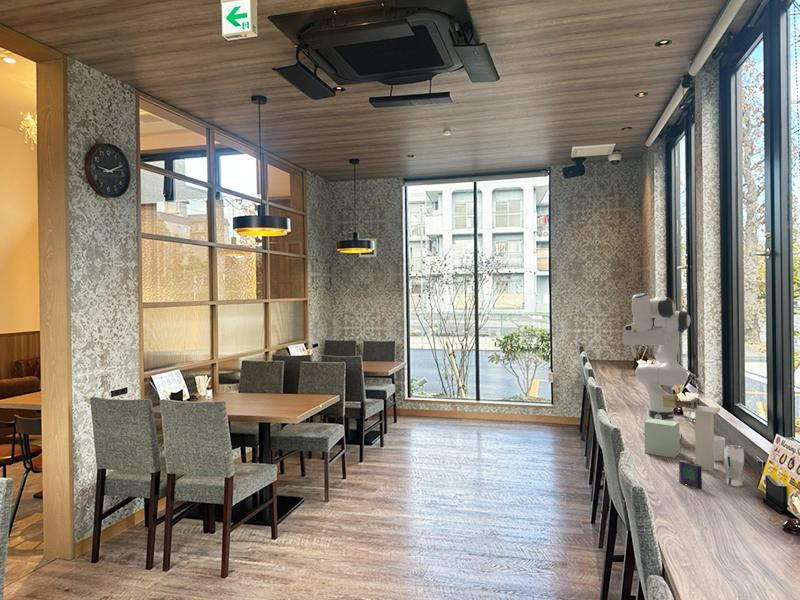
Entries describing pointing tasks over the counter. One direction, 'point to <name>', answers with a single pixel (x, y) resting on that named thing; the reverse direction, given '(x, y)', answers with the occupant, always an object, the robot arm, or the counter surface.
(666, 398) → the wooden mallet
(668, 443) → the sage pedestal
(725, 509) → the counter surface
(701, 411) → the tall stand
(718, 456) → the white cup
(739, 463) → the beer glass
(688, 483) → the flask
